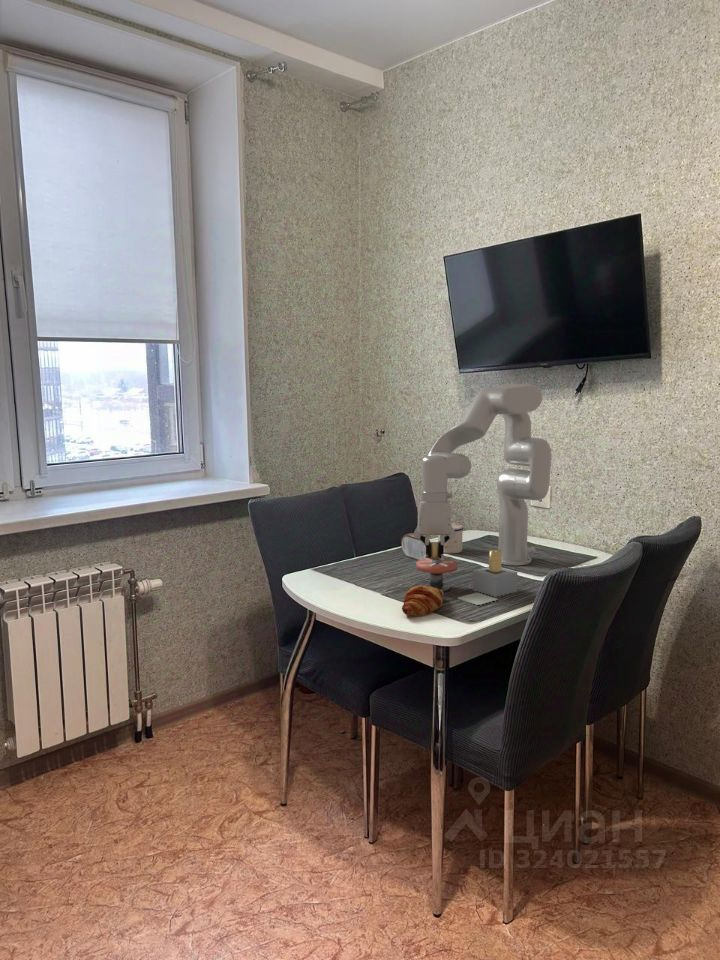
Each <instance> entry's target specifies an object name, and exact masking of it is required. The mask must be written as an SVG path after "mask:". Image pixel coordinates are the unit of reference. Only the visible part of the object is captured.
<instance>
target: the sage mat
mask: <svg viewBox="0 0 720 960" xmlns="http://www.w3.org/2000/svg"><path fill="white" fill-rule="evenodd" d="M457 599H458V600H459V601H463V602H465V603H468V604H471V603H472V605H473V604H475V605H474V606H476V605H480V606H483V605H482V604H484V605H486V604H485V603H488V604H490V603H489V602H491V603H493V602H492V601H495V602H497V601H496V600H498V601H499V599H498V598H497V597H492V596H489V595H486V594H483V593H480V592H474V593H471V594H466V595H462V596H459V597H457Z"/></svg>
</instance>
